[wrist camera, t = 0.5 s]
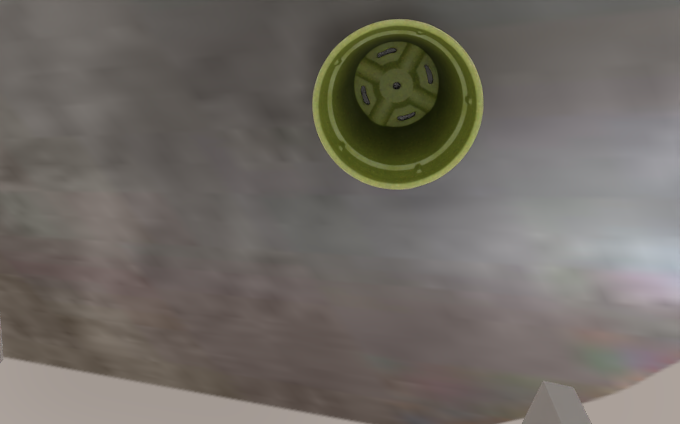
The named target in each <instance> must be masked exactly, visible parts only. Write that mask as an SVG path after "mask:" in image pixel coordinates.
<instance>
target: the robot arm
mask: <svg viewBox="0 0 680 424" xmlns="http://www.w3.org/2000/svg"><path fill="white" fill-rule="evenodd" d="M2 360H3V349H2V335H1V321H0V363H1V361H2ZM522 424H592V423H591V421H590V419H589V417H588V415H587V413H586V411H585V409H584V407H583V405H582V403H581V401H580V399H579V397H578V395H577V393H576V391H575V389H574V387H571V386H566V385H561V384H556V383H551V382H547V381H543V382H542V384H541V386H540V388H539V390H538V392H537V394H536V396H535V398H534V400H533V402H532V404H531V406H530V408H529V410H528V412H527V414H526V416H525V418H524V420H523V422H522Z"/></svg>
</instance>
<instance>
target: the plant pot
mask: <svg viewBox="0 0 680 424" xmlns="http://www.w3.org/2000/svg"><path fill="white" fill-rule="evenodd" d="M388 48H395V49H396V52H395V53H391V54H387V55H384V56H382V57H380V58H378V57H377V56H378V53H380V52H383V51H385V50H386V49H388ZM425 65H426V66H428V67H429V69H430V70H431V72H432V76H433V82H432V84H429V83H428V78H427V73H426V70H425V67H424V66H425ZM396 82H398V83H400V85H401V86H400V88H399V89H394V88H393V84H394V83H396ZM362 86H365V89H366V94H367V97H368V99H369V101H370V104H369V105H367V104H366V103H365V102H364V101H363V97H362V94H361V87H362ZM312 110H313V118H314V123H315V127H316V131H317V133H318V136H319V138H320V141H321V143H322V145H323V146H324V148H325V150H326V151H327V153H328V154H329V156H330V157H331V158H332V159H333V160H334V162H335V163H336V164H337V165H338V166H339V167H340V168H341V169H343V170H344V171H345V172H346V173H348V174H349V175H351V176H352V177H354V178H356V179H357V180H359V181H361V182H363V183H366V184H368V185H371V186H374V187H378V188H384V189H410V188H414V187H418V186H422V185H425V184H428V183H430V182H433V181H435V180H437V179H438V178H440V177H442V176H443V175H445V174H446V173H448V172H449V171H450V170H451V169H453V168H454V167H455V166H456V165H457V164H458V163H459V162H460V161H461V160H462V159H463V157H464V156H465V155H466V153H467V152H468V151H469V149H470V147H471V146H472V144H473V142H474V140H475V138H476V136H477V134H478V131H479V129H480V125H481V121H482V115H483V91H482V85H481V81H480V78H479V75H478V72H477V69H476V67H475V65H474V63H473V62H472V60H471V58H470V57H469V55H468V54H467V53H466V51H465V50H464V49H463V48H462V47H461V46H460V44H459V43H458V42H457V41H455V40H454V39H453V38H452V37H451V36H450V35H448V34H446V33H445V32H443V31H442V30H440V29H438V28H436V27H434V26H432V25H429V24H427V23H423V22H419V21H415V20H408V19H391V20H384V21H379V22H376V23H373V24H370V25H367V26H365V27H362V28H360V29H358V30H357V31H355V32H353V33H352V34H350V35H349V36H347V37H346V38H345V39H344V40H342V41H341V42H340V43H339V44H338V45H337V46H336V47H335V48H334V49H333V50H332V52H331V53H330V54H329V56H328V57H327V59H326V60H325V62H324V64H323V65H322V67H321V69H320V71H319V74H318V76H317V79H316V82H315V86H314V91H313V100H312ZM412 112H415V116H414V117H412V118H409V119H407V120H403V121H400V120H398V119H397V117H399V116H403V115H408V114H410V113H412Z"/></svg>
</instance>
